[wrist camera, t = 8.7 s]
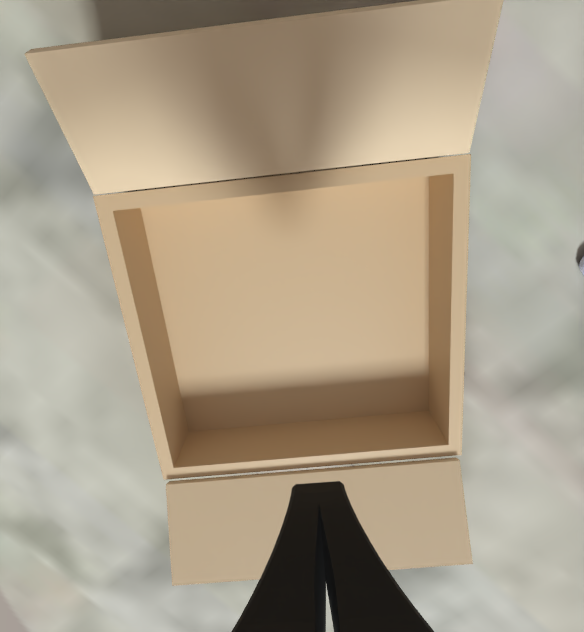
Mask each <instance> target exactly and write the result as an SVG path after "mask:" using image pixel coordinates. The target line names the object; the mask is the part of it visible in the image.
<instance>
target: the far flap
mask: <svg viewBox="0 0 584 632" xmlns="http://www.w3.org/2000/svg"><path fill="white" fill-rule="evenodd" d="M334 481H340V482H341V483H343V484H344V487H345V491H346V493H347V496H348V499H349V501H350V503H351V506H352V508H353V510H354V512H355V514H356V516H357V518H358V520H359V522H360V524H361V526H362V528H363V529H364V531H365V533H366V535H367V536H368V538H369V540H370V542H371V543H372V545H373V547H374V549H375V550H376V552H377V553H378V555H379V557H380V558H381V560H382V561H383V563H384V565H385V566H386V568H387V569H388V570H395V569H409V568H422V567H436V566H450V565H464V564H473V562H472V554H471V546H470V539H469V531H468V523H467V515H466V507H465V499H464V491H463V483H462V475H461V467H460V460H458V459H457V458H445V459H433V460H421V461H409V462H397V463H385V464H373V465H361V466H349V467H337V468H325V469H313V470H301V471H288V472H276V473H264V474H252V475H240V476H228V477H216V478H204V479H192V480H180V481H169V482H168V483H167V484H166V494H167V510H168V525H169V540H170V556H171V571H172V586H175V585H189V584H202V583H216V582H230V581H244V580H257V579H260V578H261V576H262V573H263V571H264V569H265V567H266V565H267V562H268V560H269V558H270V556H271V553H272V551H273V548H274V546H275V543H276V541H277V538H278V535H279V533H280V530H281V527H282V524H283V521H284V518H285V515H286V512H287V508H288V505H289V501H290V496H291V491H292V487H293V486H294V485H295V484H306V483H320V482H334Z"/></svg>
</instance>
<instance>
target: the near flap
mask: <svg viewBox="0 0 584 632" xmlns="http://www.w3.org/2000/svg"><path fill="white" fill-rule="evenodd" d="M502 4H503V0H416V1H408V2H400V3H393V4H385V5H377V6H369V7H361V8H353V9H345V10H337V11H329V12H321V13H313V14H306V15H298V16H290V17H282V18H274V19H266V20H258V21H250V22H242V23H234V24H226V25H219V26H211V27H203V28H195V29H187V30H179V31H171V32H163V33H155V34H147V35H139V36H131V37H124V38H116V39H108V40H100V41H92V42H84V43H76V44H68V45H60V46H52V47H44V48H37V49H31V50H29V51H28V52H27V53H25V56H26V58H27V60H28V62H29V64H30V66H31V68H32V70H33V72H34V74H35V76H36V78H37V80H38V82H39V84H40V86H41V88H42V90H43V92H44V94H45V96H46V98H47V101H48V103H49V105H50V107H51V109H52V111H53V113H54V115H55V117H56V119H57V121H58V123H59V125H60V127H61V129H62V131H63V133H64V135H65V137H66V139H67V141H68V143H69V145H70V147H71V149H72V151H73V153H74V155H75V157H76V159H77V161H78V163H79V165H80V167H81V169H82V171H83V173H84V175H85V177H86V179H87V181H88V183H89V185H90V187H91V189H92V191H93V193H94V195H95V194H104V193H113V192H122V191H131V190H140V189H149V188H158V187H167V186H176V185H185V184H194V183H203V182H212V181H221V180H230V179H239V178H248V177H257V176H266V175H275V174H284V173H293V172H302V171H311V170H320V169H329V168H338V167H347V166H356V165H365V164H373V163H382V162H391V161H400V160H409V159H418V158H427V157H436V156H445V155H454V154H463V153H469V151H470V147H471V143H472V138H473V134H474V129H475V125H476V120H477V116H478V111H479V107H480V102H481V98H482V94H483V89H484V85H485V80H486V76H487V71H488V67H489V62H490V58H491V53H492V49H493V44H494V40H495V36H496V31H497V27H498V22H499V18H500V13H501V9H502Z"/></svg>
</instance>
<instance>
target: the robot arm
mask: <svg viewBox="0 0 584 632" xmlns="http://www.w3.org/2000/svg"><path fill="white" fill-rule="evenodd" d="M579 267H580V270H581V272H582V274H583V275H584V257H583V258H582V259H581V261H580V264H579ZM326 584H327V590H328V596H329V602H330V609H331V615H332V621H333V627H334V632H434V631H433V630H432V628H431V627H430V626H429V625H428V623H427V622H426V621H425V620H424V618H423V617H422V616H421V615H420V613H419V612H418V611H417V610H416V608H415V607H414V606H413V604H412V603H411V602H410V600H409V599H408V598H407V596H406V595H405V594H404V592H403V591H402V590H401V588H400V587H399V585H398V584H397V582H396V581H395V580H394V578H393V577H392V575H391V574H390V572H389V571H388V569H387V568H386V566H385V565H384V563H383V561H382V560H381V558H380V557H379V555H378V553H377V552H376V550H375V549H374V547H373V545H372V543H371V542H370V540H369V538H368V536H367V535H366V533H365V531H364V529H363V528H362V526H361V524H360V522H359V520H358V518H357V516H356V514H355V512H354V510H353V508H352V506H351V503H350V501H349V499H348V496H347V493H346V491H345V487H344V484H343V483H341V482H340V481H334V482H320V483H306V484H295V485H294V486H293V487H292V491H291V496H290V501H289V505H288V508H287V512H286V515H285V518H284V521H283V524H282V527H281V530H280V533H279V535H278V538H277V541H276V543H275V546H274V548H273V551H272V553H271V556H270V558H269V560H268V562H267V565H266V567H265V569H264V571H263V573H262V576H261V578H260V580H259V582H258V584H257V586H256V588H255V590H254V592H253V594H252V596H251V598H250V600H249V602H248V604H247V606H246V607H245V609H244V611H243V613H242V615H241V617H240V618H239V620H238V622H237V624H236V625H235V627H234V629H233V630H232V632H326Z"/></svg>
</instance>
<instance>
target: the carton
mask: <svg viewBox="0 0 584 632" xmlns="http://www.w3.org/2000/svg"><path fill="white" fill-rule="evenodd" d="M470 169H471V154H467V155H458V156H449V157H440V158H431V159H422V160H413V161H404V162H395V163H386V164H377V165H368V166H360V167H351V168H342V169H333V170H324V171H315V172H306V173H297V174H288V175H279V176H270V177H261V178H252V179H243V180H234V181H225V182H216V183H207V184H198V185H189V186H180V187H171V188H162V189H153V190H144V191H135V192H126V193H117V194H108V195H99V196H93V198H94V202H95V206H96V210H97V214H98V218H99V222H100V226H101V230H102V234H103V238H104V242H105V246H106V250H107V254H108V258H109V262H110V266H111V270H112V274H113V278H114V282H115V286H116V290H117V294H118V298H119V302H120V306H121V310H122V314H123V318H124V322H125V326H126V330H127V334H128V338H129V342H130V346H131V350H132V354H133V358H134V362H135V366H136V370H137V374H138V378H139V382H140V386H141V391H142V395H143V399H144V403H145V407H146V411H147V415H148V419H149V423H150V427H151V431H152V435H153V439H154V443H155V447H156V451H157V455H158V459H159V463H160V467H161V471H162V475H163V479H176V478H188V477H200V476H212V475H224V474H236V473H248V472H260V471H272V470H284V469H296V468H308V467H320V466H332V465H344V464H356V463H368V462H381V461H393V460H405V459H417V458H429V457H441V456H453V455H462V424H463V392H464V360H465V328H466V296H467V265H468V233H469V201H470Z"/></svg>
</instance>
